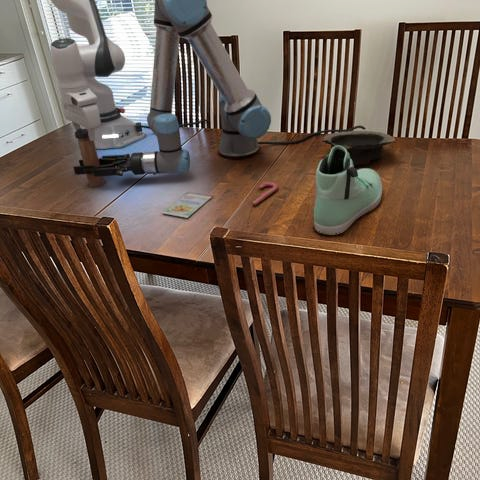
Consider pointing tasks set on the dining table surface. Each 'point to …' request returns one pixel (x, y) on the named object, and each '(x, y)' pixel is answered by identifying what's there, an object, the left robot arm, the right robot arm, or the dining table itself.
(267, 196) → the candy cane
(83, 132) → the lid
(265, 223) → the dining table surface
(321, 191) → the sneaker
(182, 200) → the baking ingredient package
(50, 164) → the dining table surface
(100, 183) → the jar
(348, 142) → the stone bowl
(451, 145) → the dining table surface
